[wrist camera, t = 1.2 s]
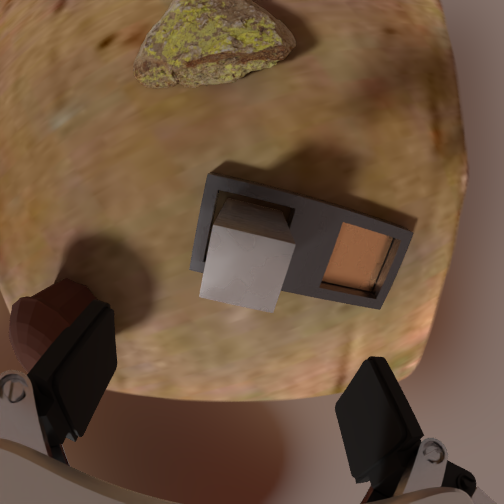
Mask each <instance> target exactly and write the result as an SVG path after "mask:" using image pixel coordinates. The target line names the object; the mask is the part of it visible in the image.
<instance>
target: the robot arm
mask: <svg viewBox="0 0 504 504" xmlns="http://www.w3.org/2000/svg"><path fill="white" fill-rule="evenodd" d="M116 367H117V354H116V342H115V326H114V311H113V309H110V305H109V304H108V303H105V302H102V301H99V300H96V299H94V300H93V301H92V302H91V303H90V304H89V305H88V306H87V307H86V308H85V309H84V310H83V312H82V313H81V314H80V315H79V316H78V317H77V318H76V319H75V321H74V322H73V323H72V324H71V325H70V326H69V327H67V328H65V329H64V330H63V331H62V332H61V334H60V335H59V336H58V337H57V338H56V339H55V341H54V342H53V343H52V344H51V345H50V347H49V348H48V349H47V350H46V352H45V353H44V354H43V355H42V356H41V358H40V359H39V360H38V361H37V363H36V364H35V365H34V367H33V368H32V369H31V370H30V372H29V373H28V374H27V375H25V374H24V373H23V372H20V371H17V370H9V371H5V372H3V373H1V374H0V504H180V503H175V502H171V501H166V500H162V499H158V498H155V497H151V496H147V495H144V494H140V493H137V492H134V491H130V490H128V489H125V488H122V487H119V486H116V485H113V484H111V483H108V482H105V481H103V480H100V479H98V478H95V477H93V476H90V475H88V474H86V473H83V472H81V471H79V470H77V469H75V468H72V467H70V465H69V463H68V460H67V458H66V455H65V452H64V449H63V446H62V444H63V442H64V440H65V438H68V439H70V440H72V441H74V442H76V440H77V438H78V436H79V437H82V436H83V435H84V433H85V431H86V429H87V426H88V424H89V422H90V420H91V418H92V416H93V414H94V412H95V410H96V408H97V406H98V404H99V401H100V399H101V397H102V395H103V394H104V391H105V390H106V388H107V386H108V384H109V382H110V380H111V378H112V376H113V374H114V372H115V370H116ZM335 412H336V415H337V419H338V423H339V427H340V430H341V435H342V438H343V442H344V446H345V450H346V454H347V458H348V462H349V466H350V471H351V474H352V476H353V477H354V478H355V479H356V483H363V482H368V481H370V482H371V486H370V488H369V489H368V491H367V493H366V495H365V497H364V498H363V500H362V502H361V503H360V504H496V503H495V502H494V501H493V500H492V499H491V498H490V497H489V496H488V495H486V494H485V493H484V492H483V491H482V490H481V489H480V488H479V487H476V480H475V477H474V476H473V475H472V473H470V472H469V471H467V470H465V469H463V468H461V467H459V466H457V465H455V464H453V463H451V462H450V461H448V460H447V458H448V453H447V449H446V447H445V446H444V444H443V443H442V442H441V441H439V440H437V439H434V438H427V439H425V440H423V441H422V442H421V440H420V439H421V438H422V437H423V436H424V434H423V432H422V430H421V428H420V426H419V423H418V422H417V419H416V417H415V415H414V413H413V411H412V409H411V407H410V405H409V403H408V401H407V399H406V397H405V395H404V394H403V391H402V390H401V387H400V386H399V383H398V382H397V380H396V378H395V376H394V374H393V372H392V370H391V368H390V367H389V365H388V363H387V361H386V359H385V358H383V357H374V356H371V357H369V358H368V359H367V360H365V361H364V362H363V363H362V365H361V367H360V368H359V370H358V371H357V373H356V374H355V376H354V378H353V379H352V381H351V382H350V384H349V385H348V387H347V388H346V390H345V391H344V393H343V394H342V395H341V397H340V398H339V400H338V401H337V403H336V406H335Z"/></svg>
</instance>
